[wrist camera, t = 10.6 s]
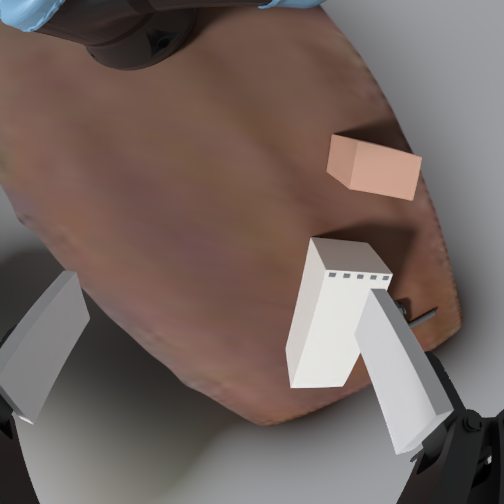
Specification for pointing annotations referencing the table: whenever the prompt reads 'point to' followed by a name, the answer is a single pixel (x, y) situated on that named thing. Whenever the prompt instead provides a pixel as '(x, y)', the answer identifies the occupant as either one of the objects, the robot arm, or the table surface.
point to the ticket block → (331, 311)
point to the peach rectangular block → (373, 167)
